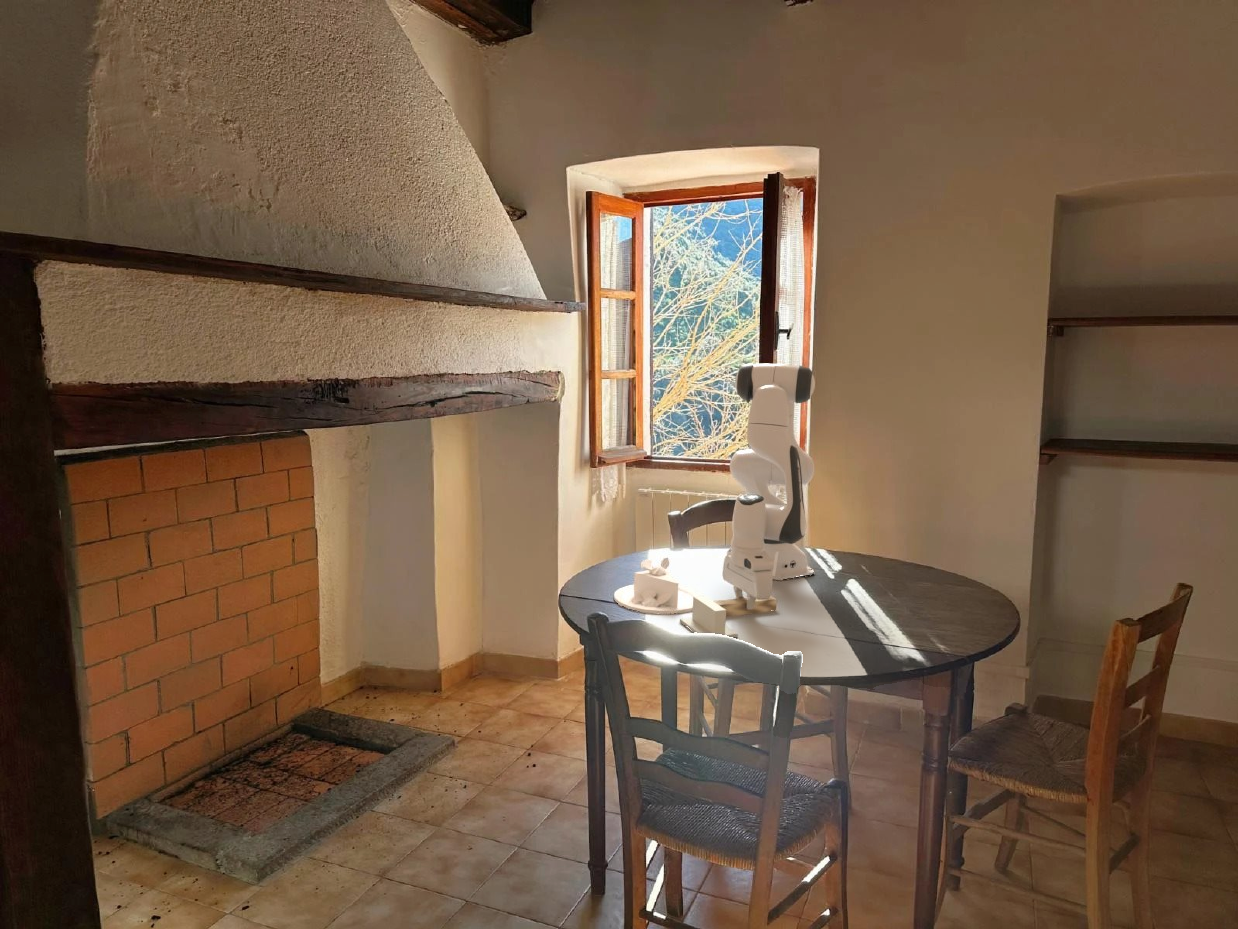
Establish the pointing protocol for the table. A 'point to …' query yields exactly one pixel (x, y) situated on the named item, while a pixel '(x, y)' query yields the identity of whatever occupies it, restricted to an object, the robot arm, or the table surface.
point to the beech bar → (744, 606)
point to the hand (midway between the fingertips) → (744, 606)
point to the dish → (656, 591)
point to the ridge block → (708, 618)
